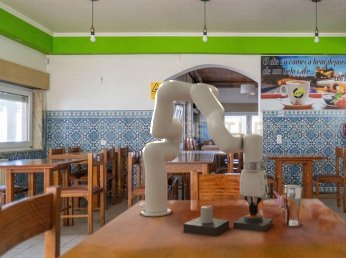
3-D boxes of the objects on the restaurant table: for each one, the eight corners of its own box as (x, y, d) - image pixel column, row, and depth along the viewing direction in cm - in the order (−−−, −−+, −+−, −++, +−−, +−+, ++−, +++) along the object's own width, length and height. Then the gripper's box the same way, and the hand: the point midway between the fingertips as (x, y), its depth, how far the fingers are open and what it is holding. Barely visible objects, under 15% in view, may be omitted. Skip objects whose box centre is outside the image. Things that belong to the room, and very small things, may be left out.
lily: (295, 221, 146) (302, 199, 149) (268, 210, 146) (276, 188, 149) (287, 222, 157) (294, 202, 161) (263, 212, 157) (270, 192, 160)
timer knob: (198, 222, 129) (198, 206, 129) (204, 219, 133) (204, 204, 133) (209, 223, 127) (209, 207, 127) (214, 221, 131) (214, 205, 131)
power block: (233, 228, 132) (233, 217, 132) (243, 221, 141) (243, 211, 141) (263, 231, 127) (263, 220, 127) (272, 224, 136) (272, 214, 136)
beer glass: (301, 227, 132) (300, 187, 132) (282, 226, 134) (282, 187, 134) (301, 222, 139) (301, 184, 139) (283, 222, 141) (283, 184, 141)
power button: (246, 220, 133) (246, 215, 133) (250, 218, 137) (250, 213, 137) (256, 221, 132) (256, 216, 132) (260, 219, 135) (260, 214, 135)
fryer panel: (183, 232, 127) (183, 223, 127) (199, 224, 137) (199, 216, 137) (215, 236, 122) (215, 227, 122) (229, 228, 132) (229, 219, 132)
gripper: (275, 166, 135) (275, 214, 135) (239, 164, 141) (239, 211, 141) (268, 168, 128) (269, 219, 128) (231, 166, 134) (231, 215, 134)
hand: (253, 214), depth 134 cm, fingers closed
